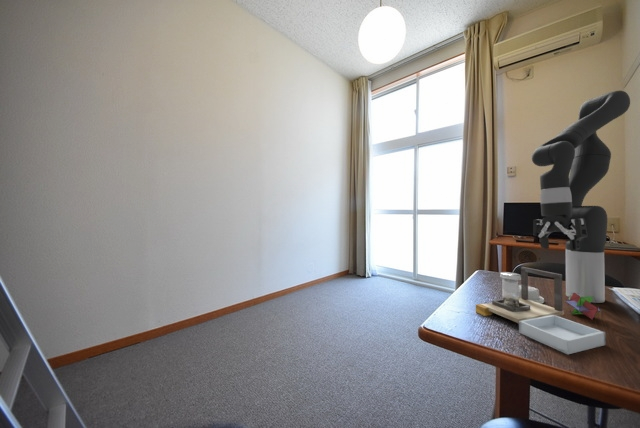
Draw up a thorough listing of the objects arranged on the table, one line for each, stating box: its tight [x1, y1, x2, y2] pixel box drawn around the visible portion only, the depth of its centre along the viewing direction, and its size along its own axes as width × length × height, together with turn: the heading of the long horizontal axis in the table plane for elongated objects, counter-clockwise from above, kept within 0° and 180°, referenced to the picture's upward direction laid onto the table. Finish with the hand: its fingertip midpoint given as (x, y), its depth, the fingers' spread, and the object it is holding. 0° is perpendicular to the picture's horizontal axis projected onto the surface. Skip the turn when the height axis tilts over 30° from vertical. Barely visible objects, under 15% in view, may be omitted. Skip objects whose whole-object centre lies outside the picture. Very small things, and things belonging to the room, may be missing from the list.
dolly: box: [475, 266, 565, 325], centre depth 71 cm, size 20×12×13 cm, turn 105°
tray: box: [518, 315, 606, 355], centre depth 58 cm, size 13×10×3 cm
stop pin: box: [499, 271, 521, 308], centre depth 72 cm, size 5×5×10 cm
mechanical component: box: [519, 284, 545, 304], centre depth 85 cm, size 10×4×10 cm
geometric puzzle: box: [564, 292, 602, 320], centre depth 70 cm, size 7×7×8 cm
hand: (559, 249), depth 79 cm, fingers open, 8 cm apart
